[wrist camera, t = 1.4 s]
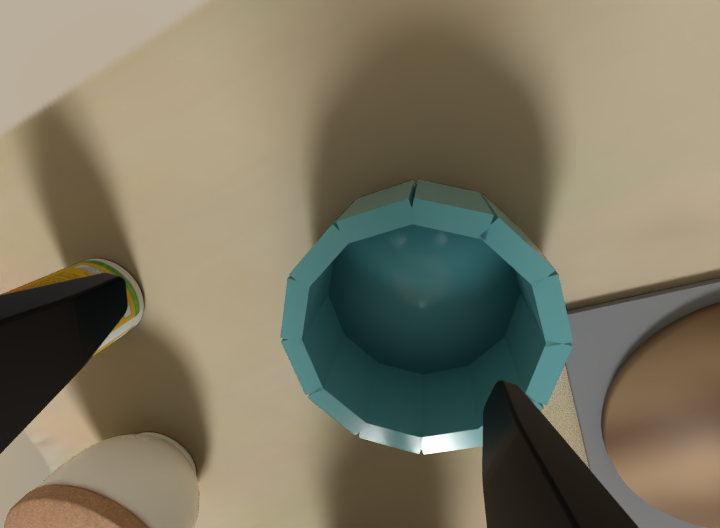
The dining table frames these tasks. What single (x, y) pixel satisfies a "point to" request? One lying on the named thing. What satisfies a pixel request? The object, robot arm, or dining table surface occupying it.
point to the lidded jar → (116, 488)
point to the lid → (670, 419)
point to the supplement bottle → (92, 268)
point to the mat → (604, 358)
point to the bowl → (423, 317)
